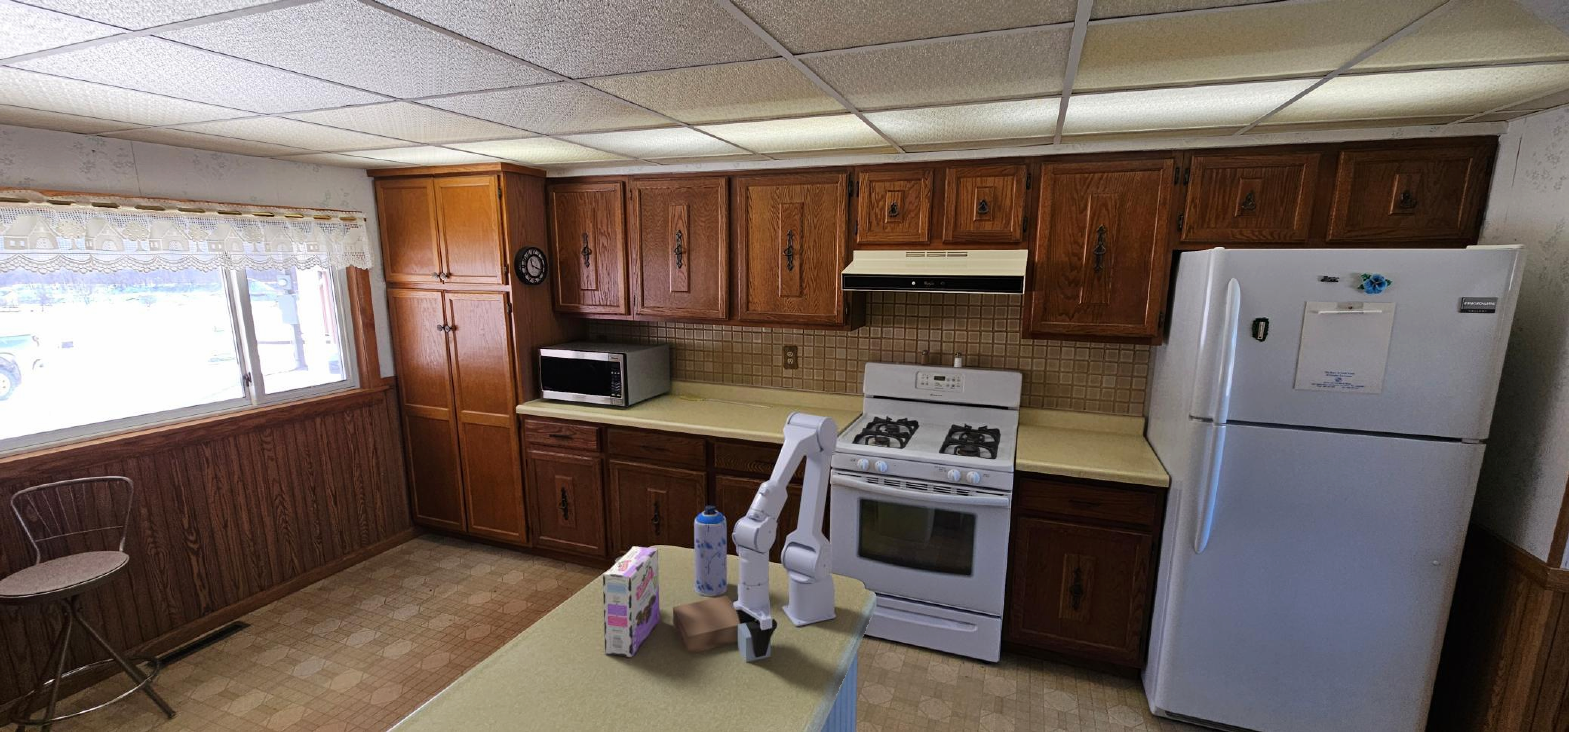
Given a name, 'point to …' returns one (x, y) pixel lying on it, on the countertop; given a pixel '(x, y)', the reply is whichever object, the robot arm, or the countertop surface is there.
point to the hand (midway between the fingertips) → (753, 645)
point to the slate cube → (748, 644)
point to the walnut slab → (706, 624)
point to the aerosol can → (710, 553)
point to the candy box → (631, 601)
